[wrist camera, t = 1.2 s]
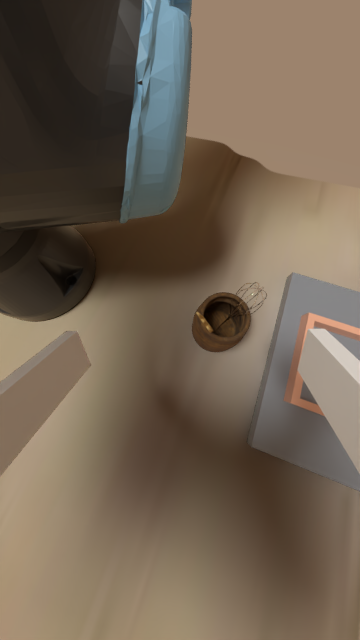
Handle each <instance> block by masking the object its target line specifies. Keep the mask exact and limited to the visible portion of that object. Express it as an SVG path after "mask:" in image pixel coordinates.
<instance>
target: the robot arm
mask: <svg viewBox="0 0 360 640" xmlns="http://www.w3.org/2000/svg"><path fill="white" fill-rule="evenodd" d="M191 4H192V0H0V313H2V314H4V315H7V316H10V317H14V318H17V319H20V320H24V321H43V320H48V319H52V318H55V317H57V316H59V315H62V314H63V313H65V312H67V311H69V310H70V309H71V308H73V307H74V306H75V305H76V304H77V303H78V302H79V301H80V300H81V299H82V298H83V297H84V296H85V294H86V293H87V291H88V290H89V288H90V286H91V284H92V281H93V278H94V275H95V257H94V254H93V251H92V249H91V247H90V246H89V244H88V243H87V242H86V240H85V239H84V238H83V236H82V235H81V234H80V233H79V232H78V231H77V230H76V229H75V228H74V227H72V226H71V225H79V224H88V223H98V222H107V221H117V220H119V222H120V223H126V222H127V220H129V219H135V218H141V217H148V216H155V215H159V214H162V213H164V212H165V211H167V210H168V209H169V208H170V206H171V205H172V204H173V202H174V200H175V198H176V195H177V193H178V189H179V185H180V180H181V174H182V167H183V159H184V151H185V141H186V130H187V119H188V104H189V90H190V89H189V88H190V72H191V48H192V28H191V22H190V16H191ZM90 366H91V364H90V362H89V359H88V357H87V354H86V352H85V349H84V347H83V344H82V342H81V339H80V337H79V334H78V332H77V331H66V332H65V333H63V334H62V335H61V336H59V337H58V338H57V339H55V340H54V341H53V342H52V343H50V344H49V345H48V346H46V347H45V348H44V349H43V350H41V351H40V352H39V353H37V354H36V355H35V356H34V357H32V358H31V359H30V360H28V361H27V362H26V363H24V364H23V365H22V366H21V367H19V368H18V369H17V370H15V371H14V372H13V373H12V374H10V375H9V376H8V377H6V378H5V379H4V380H2V381H1V382H0V476H1V475H2V474H3V472H4V471H5V470H6V469H7V467H8V466H9V465H10V464H11V463H12V461H13V460H14V459H15V458H16V456H17V455H18V454H19V453H20V452H21V450H22V449H23V448H24V447H25V445H26V444H27V443H28V442H29V440H30V439H31V438H32V437H33V436H34V434H35V433H36V432H37V431H38V429H39V428H40V427H41V426H42V425H43V423H44V422H45V421H46V420H47V418H48V417H49V416H50V415H51V414H52V412H53V411H54V410H55V409H56V407H57V406H58V405H59V404H60V402H61V401H62V400H63V399H64V398H65V396H66V395H67V394H68V393H69V391H70V390H71V389H72V388H73V387H74V385H75V384H76V383H77V382H78V380H79V379H80V378H81V377H82V376H83V374H84V373H85V372H86V371H87V369H88V368H89V367H90ZM297 370H298V372H299V374H300V375H301V377H302V379H303V380H304V382H305V384H306V385H307V387H308V389H309V390H310V392H311V394H312V395H313V397H314V399H315V400H316V402H317V404H318V405H319V407H320V409H321V410H322V412H323V414H324V415H325V417H326V419H327V420H328V422H329V424H330V425H331V427H332V429H333V430H334V432H335V434H336V435H337V437H338V439H339V440H340V442H341V444H342V445H343V447H344V449H345V450H346V452H347V454H348V455H349V457H350V459H351V460H352V462H353V464H354V465H355V467H356V469H357V470H358V472H359V474H360V361H359V360H358V359H357V358H356V357H355V356H354V355H353V354H352V353H351V352H350V351H348V350H347V349H346V348H345V347H344V346H343V345H342V344H341V343H340V342H339V341H338V340H336V339H335V338H334V337H333V336H332V335H331V334H330V333H329V332H328V331H327V330H326V329H308V331H307V335H306V339H305V342H304V346H303V350H302V354H301V358H300V362H299V366H298V369H297Z"/></svg>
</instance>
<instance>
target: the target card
mask: <svg viewBox="0 0 360 640" xmlns="http://www.w3.org/2000/svg"><path fill="white" fill-rule="evenodd" d="M308 329H326V330H327V331H328V332H329V333H330V334H331V335H332V336H333V337H334V338H335V339H336V340H338V341H339V342H340V343H341V344H342V345H343V346H344V347H345V348H346V349H347V350H348V351H350V352H351V353H352V354H353V355H354V356H355V357H356V358H357V359H358V360H359V361H360V292H357V291H354V290H350V289H347V288H344V287H340V286H337V285H334V284H330V283H327V282H324V281H320V280H317V279H314V278H310V277H307V276H303V275H300V274H297V273H292V274H291V275H290V276H288V277H287V280H286V284H285V288H284V292H283V296H282V300H281V304H280V309H279V313H278V317H277V321H276V325H275V329H274V333H273V337H272V341H271V345H270V349H269V353H268V358H267V362H266V366H265V370H264V374H263V378H262V382H261V386H260V390H259V394H258V398H257V402H256V406H255V411H254V415H253V419H252V423H251V427H250V431H249V435H248V439H247V442H248V444H249V445H250V446H251V447H253V448H255V449H258V450H260V451H263V452H265V453H267V454H270V455H272V456H275V457H277V458H280V459H282V460H284V461H287V462H289V463H292V464H294V465H297V466H299V467H301V468H304V469H306V470H309V471H311V472H314V473H316V474H319V475H321V476H323V477H326V478H328V479H331V480H333V481H336V482H338V483H340V484H343V485H345V486H348V487H350V488H353V489H355V490H358V491H360V474H359V472H358V470H357V469H356V467H355V465H354V464H353V462H352V460H351V459H350V457H349V455H348V454H347V452H346V450H345V449H344V447H343V445H342V444H341V442H340V440H339V439H338V437H337V435H336V434H335V432H334V430H333V429H332V427H331V425H330V424H329V422H328V420H327V419H326V417H325V415H324V414H323V412H322V410H321V409H320V407H319V405H318V404H317V402H316V400H315V399H314V397H313V395H312V394H311V392H310V390H309V389H308V387H307V385H306V384H305V382H304V380H303V379H302V377H301V375H300V374H299V372H298V370H297V369H298V366H299V362H300V358H301V354H302V350H303V346H304V342H305V339H306V335H307V331H308Z"/></svg>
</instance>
